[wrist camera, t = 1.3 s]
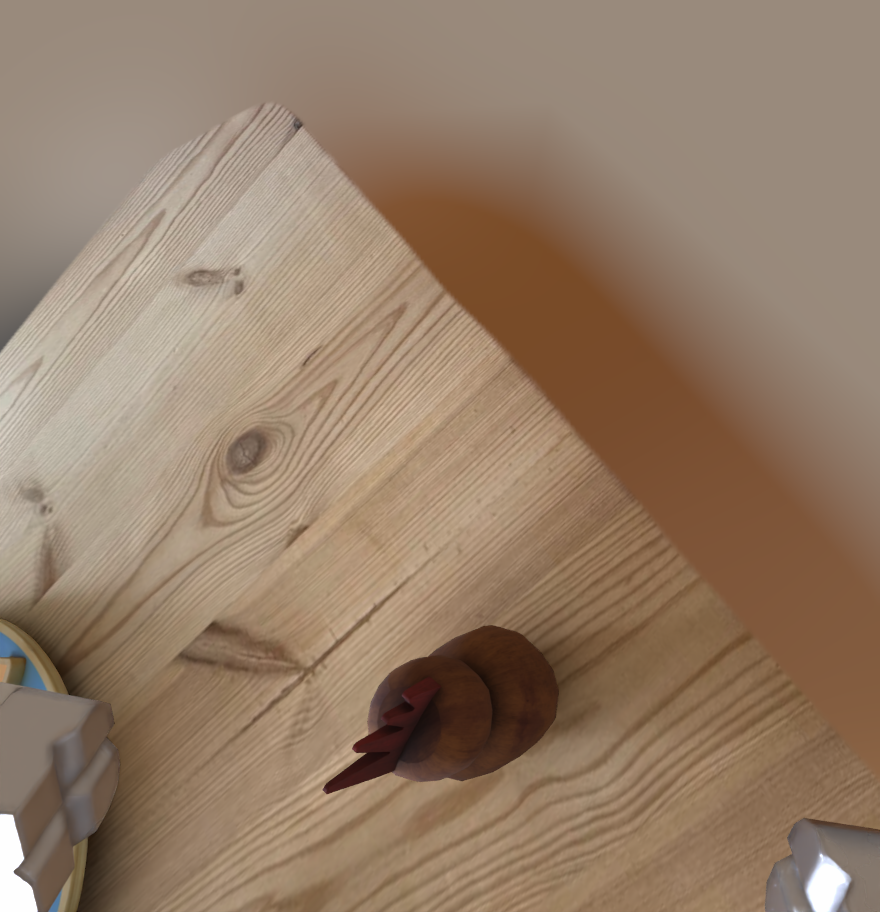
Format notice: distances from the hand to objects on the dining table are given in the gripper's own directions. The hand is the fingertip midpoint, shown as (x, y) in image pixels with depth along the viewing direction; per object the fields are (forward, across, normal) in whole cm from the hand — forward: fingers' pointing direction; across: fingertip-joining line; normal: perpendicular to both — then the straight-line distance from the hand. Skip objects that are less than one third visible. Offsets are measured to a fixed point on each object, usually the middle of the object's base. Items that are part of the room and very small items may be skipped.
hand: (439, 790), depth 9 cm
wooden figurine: (+22, -3, +20) cm, 30 cm away
